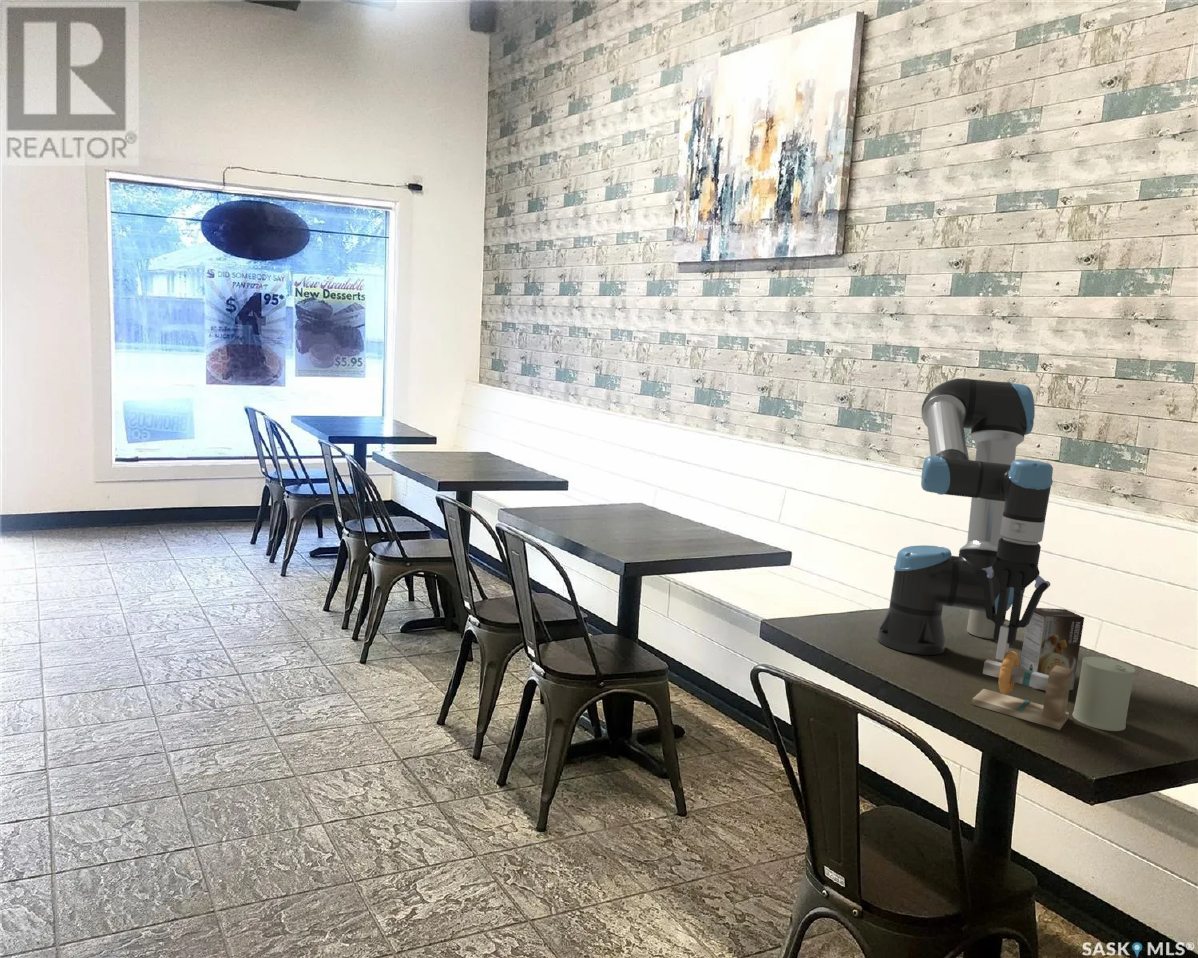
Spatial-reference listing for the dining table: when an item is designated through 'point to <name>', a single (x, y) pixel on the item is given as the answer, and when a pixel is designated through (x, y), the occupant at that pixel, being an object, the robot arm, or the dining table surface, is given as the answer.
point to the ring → (1007, 672)
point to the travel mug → (980, 625)
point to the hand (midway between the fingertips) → (1001, 657)
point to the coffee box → (1052, 641)
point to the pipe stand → (1044, 714)
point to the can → (1104, 693)
